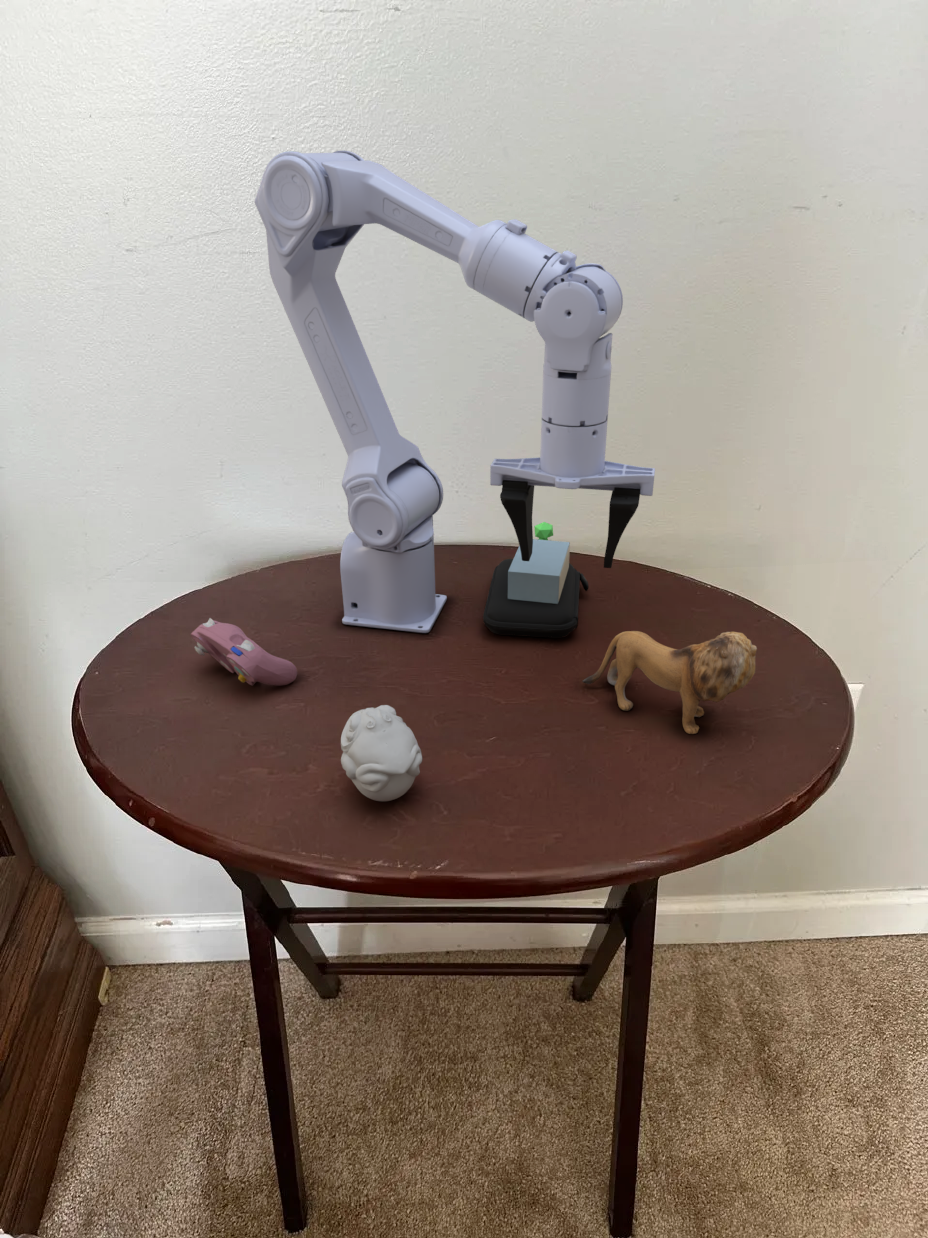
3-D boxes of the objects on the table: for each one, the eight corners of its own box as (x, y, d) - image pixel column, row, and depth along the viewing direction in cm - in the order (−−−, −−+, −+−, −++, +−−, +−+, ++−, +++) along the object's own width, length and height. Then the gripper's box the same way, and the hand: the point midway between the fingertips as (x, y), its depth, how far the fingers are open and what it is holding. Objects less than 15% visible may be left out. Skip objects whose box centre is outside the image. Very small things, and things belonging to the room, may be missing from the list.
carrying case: (587, 646, 85) (588, 581, 97) (588, 620, 83) (589, 557, 96) (480, 640, 86) (495, 576, 99) (480, 613, 85) (495, 552, 97)
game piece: (564, 564, 102) (567, 517, 99) (555, 579, 98) (557, 531, 95) (530, 558, 103) (531, 512, 100) (519, 573, 99) (520, 526, 96)
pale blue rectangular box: (507, 599, 87) (508, 571, 86) (521, 564, 94) (522, 537, 93) (558, 604, 86) (559, 575, 85) (568, 568, 93) (570, 541, 92)
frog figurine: (396, 754, 70) (392, 683, 67) (440, 802, 65) (438, 727, 61) (329, 780, 67) (321, 708, 64) (369, 833, 62) (363, 756, 59)
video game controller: (212, 673, 84) (172, 630, 79) (244, 639, 86) (207, 595, 81) (272, 712, 78) (233, 668, 73) (305, 675, 80) (269, 629, 75)
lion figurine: (750, 716, 74) (767, 626, 70) (736, 749, 70) (753, 656, 66) (591, 673, 80) (598, 588, 76) (570, 702, 76) (575, 614, 72)
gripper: (483, 426, 72) (483, 571, 78) (658, 435, 69) (643, 585, 75) (498, 404, 78) (497, 541, 84) (660, 412, 75) (646, 553, 81)
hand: (567, 560), depth 80 cm, fingers open, 7 cm apart
